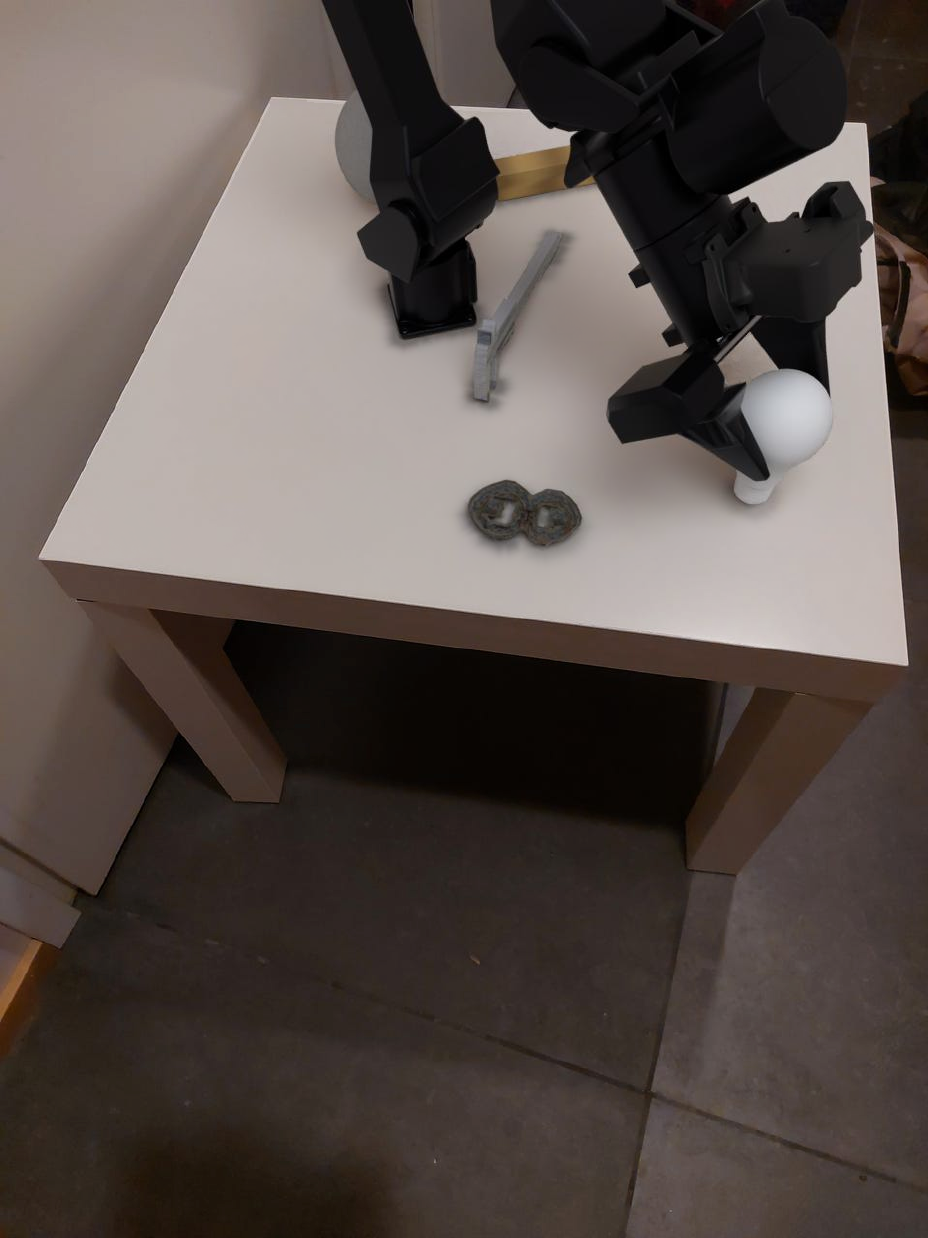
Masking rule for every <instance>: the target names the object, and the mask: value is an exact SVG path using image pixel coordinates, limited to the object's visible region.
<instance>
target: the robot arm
mask: <svg viewBox="0 0 928 1238" xmlns="http://www.w3.org/2000/svg"><path fill="white" fill-rule="evenodd" d="M320 1H321V4H322V6H323V8H324V11H325V13H326V16H327V18H328V21H329V23H330V25H331V28H332V30H333V33H334V36H335V38H336V41H337V43H338V46H339V48H340V50H341V53H342V56H343V59H344V60H345V63H346V66H347V68H348V71H349V73H350V75H351V78H352V81H353V83H354V85H355V89H357V91H358V93H359V96H360V98H361V101H362V103H363V105H364V108H365V110H366V113H367V115H368V118H369V121H370V123H371V127H372V144H371V159H370V175H369V180H370V184H371V187H372V190H373V193H374V196H375V200H376V203H377V205H376V206H377V209H378V212H379V213H378V214H377V215H375V216H374V217H373V218H372V219H370V221H368V222H367V223H366V224H365V225H364V226H362V227H361V228H360V229H359V230H358V231H357V232H356V236H357V240H358V241H359V244H360V246H361V249H362V252H363V253H364V256H365V258H366V259H367V260H368V261H369V262H371V263H373V264H374V265H377V266H378V267H379V268H381V269H383V270H385V271H386V273H387V280H388V283H387V284H386V288H387V293H388V297H389V301H390V306H391V308H392V313H393V316H394V321H395V324H396V327H397V332H398V336H399V337H400V338H401V339H403V340H407V339H411V338H417V337H421V336H426V335H432V334H436V333H440V332H441V333H442V332H446V331H452V330H457V329H463V328H467V327H472V326H474V325H476V324H477V322H478V318H477V317H478V315H477V314H476V310H475V308H474V304H477V302H478V301H479V296H478V276H477V261H476V257H475V254H474V252H473V251H474V250H473V249H472V245H471V243H470V241H469V240H467V239H466V238H467V237H468V236H469V235H471V233H473V232H474V231H475V230H479V229H480V228H481V227H483V225H484V222H485V220H486V219H487V218H488V217H489V216H490V215H492V214H493V212H494V209H495V207H496V203H497V202H498V201H497V200H498V199H499V190H498V184H497V179H496V177H497V176H498V175H500V170H499V169H498V167H497V165H496V164H495V162H494V160H493V159H494V157H493V155H492V153H491V150H490V146H489V144H488V143H489V142H488V139H487V134H486V130H485V129H486V128H485V126H484V124H483V122H482V121H481V120H480V118H479V117H477V116H476V115H473V116H471V117H469V118H467V119H466V118H464V117H463V116H462V115H461V114H460V113H459V112H458V111H456V110H455V109H454V108H453V107H452V106H451V105H450V104H448V102H447V101H445V100H444V99H443V98H442V96H441V93H440V92H439V88H438V86H437V83H436V81H435V77H434V74H433V72H432V69H431V68H432V67H431V66H430V63H429V60H428V56H427V54H426V51H425V49H424V46H423V42H422V39H421V36H420V34H419V31H418V28H417V25H416V22H415V18H414V17H413V13H412V11H411V7H410V5H409V2H408V0H320ZM489 3H490V12H491V19H492V29H493V36H494V44H495V47H496V49H497V52H498V54H499V55H500V57H501V59H502V62H503V63H504V65H505V67H506V69H507V71H508V73H509V75H510V77H511V78H512V81H513V83H514V84H515V86H516V88H517V91H518V93H519V94H520V96H521V98H522V100H523V102H524V103H525V105H526V106H527V108H528V110H529V112H530V113H531V114H532V115H533V116H534V117H535V118H536V120H537V121H538V122H539V123H540V124H541V125H543V126H544V127H546V128H547V129H549V130H553V129H557V130H560V131H564V132H566V133H567V132H568V133H572V132H574V133H573V134H572V135H571V136H570V138H569V145H570V155H569V159H568V162H567V165H566V169H565V175H564V180H563V181H564V184H565V186H566V187H567V189H573V188H576V187H575V186H577V185H578V184H580V183H581V182H583V181H585V180H586V179H588V178H589V177H591V176H592V177H593V179H594V181H595V183H594V184H596V186H597V188H598V190H599V192H600V194H601V195H602V197H603V199H604V202H606V204H607V206H608V208H609V210H610V212H611V214H612V216H613V217H614V219H615V221H616V224H617V225H618V226H619V228H620V230H621V232H622V234H623V236H624V237H625V239H626V241H627V243H628V245H629V246H630V248H631V250H632V252H633V254H634V256H635V258H636V259H637V261H638V264H637V265H636V266H635V267H634V268H632V269H631V270H630V271H629V272H628V273H627V275H628V277H629V279H630V281H631V282H632V284H633V286H634V288H635V289H637V290H638V289H639V288H641V287H643V286H646V285H649V284H650V285H651V287H652V288H653V290H654V293H655V294H656V296H657V298H658V300H659V301H660V303H661V305H662V307H663V309H664V310H665V312H666V315H667V316H668V318H669V319H670V321H671V323H670V324H669V325H668V326H667V327H666V328H665V329H664V330H663V331H662V332H661V333H660V335H661V337H662V338H663V340H664V342H665V343H666V345H667V347H668V348H673V347H676V346H679V345H683V344H685V346H686V349H685V350H684V351H683V352H681V354H678V355H675V356H671V357H668V358H665V359H661V360H658V361H655V362H652V363H648V364H645V365H642V366H641V367H639V369H638V370H636V371H635V372H634V373H633V374H632V375H631V377H629V378H628V379H627V380H626V381H625V382H624V383H623V384H622V385H621V386H620V387H619V388H617V390H616V391H615V392H614V393H613V394H612V395H610V397H609V398H608V399H607V406H606V412H605V415H606V419H607V423H608V424H609V425H610V427H611V429H612V431H613V432H614V433H615V434H614V435H616V438H617V439H618V440H619V442H620V443H621V445H626V444H631V443H635V442H636V443H637V442H641V441H647V440H652V439H657V438H662V437H668V436H673V435H678V436H680V437H682V438H684V439H686V440H688V441H690V442H692V443H694V444H696V445H697V446H699V447H700V448H702V449H704V450H706V451H707V452H708V453H711V454H712V455H713V456H715V457H716V458H718V459H720V461H722V462H724V463H726V464H727V465H729V466H730V467H732V468H733V469H735V470H738V471H739V472H741V473H742V474H744V475H746V476H747V477H749V478H750V479H752V480H753V481H756V482H758V481H766V480H768V478H769V477H770V472H769V469H768V467H767V464H766V461H765V458H764V456H763V454H762V452H761V449H760V447H759V445H758V443H757V441H756V439H755V437H754V435H753V433H752V431H751V429H750V427H749V425H748V423H747V421H746V419H745V416H744V414H743V412H742V410H741V404H742V401H743V397H744V393H745V390H746V386H747V384H748V383H747V382H746V381H743V382H738V383H735V384H730V385H728V384H727V383H726V380H725V378H726V376H725V375H724V373H723V371H722V369H721V367H720V366H719V365H720V363H721V362H722V361H723V360H724V359H725V358H726V357H727V356H728V355H729V354H730V353H731V352H732V351H733V350H734V349H735V348H736V347H737V346H738V345H739V344H740V343H741V342H742V341H743V340H744V339H745V338H746V337H747V336H748V335H749V333H750V335H752V336H753V338H754V340H756V342H757V343H758V344H759V346H760V347H761V348H762V350H763V351H764V352H765V354H766V355H767V357H769V359H770V360H771V362H772V363H773V364H774V365H775V367H776V368H777V370H778V369H794V370H799V371H802V372H805V373H807V374H809V375H811V376H812V377H814V378H815V379H816V380H818V381H819V382H820V383H821V384H822V385H823V387H824V388H825V389H826V391H827V393H828V395H829V397H830V399H831V400H832V397H831V386H830V376H829V364H828V351H827V329H826V328H827V324H826V323H827V321H826V320H827V317H828V316H830V315H831V314H832V313H833V312H834V311H835V310H836V309H837V307H838V303H839V302H840V301H841V300H842V298H843V297H844V296H846V295H847V293H848V292H849V291H850V290H851V289H852V288H856V287H857V286H858V285H860V283H861V282H862V280H863V272H862V270H863V269H862V256H861V255H862V252H863V250H862V246H863V245H864V244H865V243H866V242H867V241H868V240H869V239H870V238H871V237H872V236H873V234H874V233H875V226H874V224H873V222H871V221H870V220H867V212H866V208H865V206H864V203H863V202H862V200H861V198H860V197H859V194H858V193H857V192H856V190H855V188H854V186H853V185H852V183H851V182H850V181H849V180H840V181H839V180H838V181H837V180H836V181H826V182H824V183H823V184H822V185H820V187H819V188H818V189H816V191H815V192H814V193H813V194H811V195H810V196H809V198H808V199H807V201H806V202H805V205H804V208H803V209H802V210H803V211H802V214H800V211H792V212H790V214H789V215H787V216H786V218H785V219H782V220H780V221H768V220H767V219H766V217H764V215H763V213H762V212H761V209H760V207H759V205H758V203H757V202H755V201H752V200H751V198H750V197H749V195H748V196H745V197H743V198H741V199H739V200H737V201H735V202H732V200H731V198H730V195H732V194H734V193H737V192H738V191H740V190H743V189H744V188H747V187H748V186H751V185H752V184H754V183H756V182H758V181H761V180H762V179H765V178H767V177H769V176H771V175H773V174H774V173H775V174H776V173H777V172H779V171H781V170H783V169H785V168H787V167H789V166H791V165H793V164H796V163H797V162H799V161H802V160H803V159H805V158H807V157H809V156H811V155H814V154H815V153H817V152H820V151H822V150H825V148H828V147H830V146H831V145H832V144H833V143H834V142H836V140H837V139H838V137H839V136H840V134H841V132H842V131H843V129H844V126H845V122H846V120H847V117H848V109H849V103H850V101H849V100H850V99H849V97H850V96H849V95H850V94H849V82H848V75H847V70H846V67H845V63H844V60H843V57H842V54H841V52H840V49H839V47H838V45H837V43H836V42H835V41H830V40H829V39H828V38H827V36H826V35H825V34H824V31H822V30H821V29H820V28H819V27H818V26H817V25H816V24H815V23H814V22H812V21H810V20H809V19H807V18H805V17H803V16H797V15H790V14H789V12H788V9H787V7H786V4H785V2H784V0H760V1H758V2H757V3H756V4H754V5H753V6H752V7H751V8H749V9H748V10H746V12H744V13H743V14H742V15H740V16H739V17H738V18H737V19H735V20H734V21H732V23H730V24H729V25H728V27H727V28H726V29H725V31H723V30H721V29H720V28H718V27H716V26H714V25H713V24H710V23H709V22H708V21H706V20H704V19H703V18H701V17H699V16H697V15H695V14H693V13H692V12H690V11H689V10H687V9H685V8H683V7H682V6H679V4H676V3H675V2H673V1H671V0H489ZM577 187H578V186H577ZM800 215H801V216H800Z"/></svg>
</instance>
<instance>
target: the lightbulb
mask: <svg viewBox="0 0 928 1238" xmlns="http://www.w3.org/2000/svg"><path fill="white" fill-rule="evenodd" d="M832 401H833V400H832V398H831V399H830V397H829V395H828V393H827V391H826V389H825V388H824V387H823V385H822V384H821V383H820V382H819V381H818V380H816V379H815V378H814V377H812V376H811V375H809V374H807V373H805V372H802V371H799V370H794V369H778V368H777V369H774V370H769V371H765V372H763V373H762V374H760V375H758V376H756V377H754V378H751V380H750V381H749V382H748V383H747V386H746V390H745V393H744V397H743V401H742V404H741V410H742V412H743V414H744V416H745V419H746V421H747V423H748V425H749V427H750V429H751V431H752V433H753V435H754V437H755V439H756V441H757V443H758V445H759V447H760V449H761V452H762V454H763V456H764V458H765V461H766V464H767V467H768V469H769V472H770V477H769V478H768V480H766V481H758V482H756V481H753V480H752V479H750V478H749V477H747V476H746V475H744V474H742V473H741V472H739V471H738V470H736V469H735V470H736V477H735V480H734V484H733V491H734V494H735V496H736V497H737V498H738V499H739V500H740V501H742V502H743V503H746V504H748V505H758V504H763V503H764V502H766V501H767V500H769V498H770V497H771V494H772V493H773V491H774V489H775V488H776V486H778V485H779V484H780V483H781V482H782V480H783V479H784V477H785V475H786V474H787V473H788V472H789V470H791V469H793V468H795V467H798V466H800V465H801V464H803V463H805V462H807V461H808V460H811V458H813V457H815V455H816V454H817V453H818V452H820V450H821V449H822V448H823V447H824V445H825V443H826V442H827V441H828V439H829V438H830V437H829V436H830V435H831V432H832V429H833V423H834V407H833V402H832Z"/></svg>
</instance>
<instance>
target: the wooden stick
mask: <svg viewBox="0 0 928 1238" xmlns="http://www.w3.org/2000/svg"><path fill="white" fill-rule="evenodd" d="M569 155H570V144H567V145H563V146H557V147H553V148H546V149H540V150H536V151H531V152H525V153H520V154H515V155H510V156H504V157H499V158H493V160H494V162H495V164H496V165H497V167H498V169H499V170H500V175H498V176H497V177H496V179H497V184H498V190H499V199H498V200H497V201H496V202H504V201H508V200H513V199H514V200H515V199H520V198H525V197H530V196H535V195H541V194H545V193H551V192H556V191H561V190H566V189H568V188H567V187H566V186H565V184H564V181H563V180H564V175H565V169H566V165H567V162H568V159H569ZM593 184H596V183H595V181H594V179H593V177H592V176H591V177H589V178H588V179H586V180H585V181H583V182H581V183H580V184H578V185H577V186H575V187H574V188H577V187H583V186H588V185H593Z"/></svg>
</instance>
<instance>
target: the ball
mask: <svg viewBox="0 0 928 1238" xmlns="http://www.w3.org/2000/svg"><path fill="white" fill-rule="evenodd" d="M371 144H372V127H371V123H370V121H369V118H368V115H367V113H366V110H365V108H364V105H363V103H362V101H361V98H360V96H359V93H358V91H357V88H355V90H354V91H353V92H352V93H351V94H350V95H349V96H348V97H347V99H346V100H345V102H344V104H343V105H342V108H341V110H340V112H339V115H338V117H337V121H336V125H335V133H334V148H335V156H336V160H337V162H338V166H339V168H340V171H341V173H342V175H343V176H344V179H345V180H346V182H347V183H348V185H350V187H351V188H352V189H353V190H354V191H355V193H357V194H358V195H359V196H360V197H361V198H362V199H364V200H365V201H367V202H368V203H371V204H373V205H375V206H377V203H376V200H375V196H374V193H373V190H372V187H371V184H370V180H369V175H370V159H371Z"/></svg>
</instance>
